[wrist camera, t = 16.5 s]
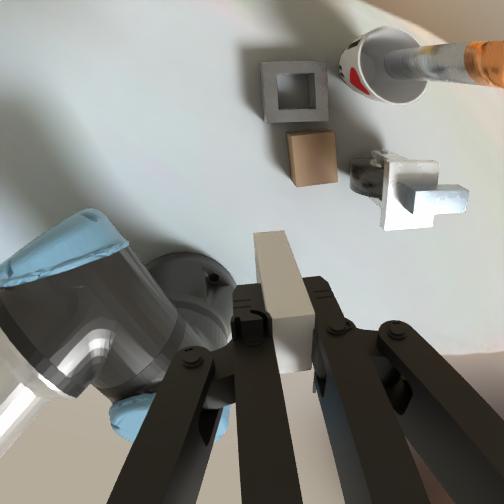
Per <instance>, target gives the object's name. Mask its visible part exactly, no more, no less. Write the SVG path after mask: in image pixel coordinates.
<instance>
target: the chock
mask: <svg viewBox="0 0 504 504" xmlns="http://www.w3.org/2000/svg"><path fill="white" fill-rule="evenodd" d="M286 137H287V145H288V154H289V163H290V172H291V180H292V182H293V183H294V184H295V186H296V187H303V186H310V185H318V184H326V183H335V182H338V175H337V158H336V144H335V132H333V131H331V130H328V129H315V130H305V131H295V132H286Z"/></svg>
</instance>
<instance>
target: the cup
mask: <svg viewBox="0 0 504 504" xmlns="http://www.w3.org/2000/svg"><path fill="white" fill-rule="evenodd" d="M415 47H422V46H421V44H420V43H419V42H418V40H417V39H416V38H415V37H413V36H412V35H411V34H410V33H408V32H406V31H405V30H403V29H400V28H397V27H392V26H383V27H379V28H376V29H374V30H372V31H370V32H368V33H366V34H364V35H362V36H360V37H358V38H357V39H355V40H354V41H353V42H352V43H351V44H350V45H349V46H348V47H347V48H346V49H345V50H344V51H343V53H342V55H341V57H340V61H339V73H340V76H341V78H342V79H343V80H344V82H345V83H346V84H347V85H348V86H349V87H350V88H351V89H352V90H354V91H356V92H358V93H360V94H362V95H364V96H366V97H368V98H370V99H373V100H377V101H381V102H385V103H389V104H393V105H407V104H410V103H413V102H415V101H416V100H418V99H419V98H420V97H421V96H422V95H423V93H424V92H425V90H426V88H427V86H428V83H429V81H417V80H395V79H393V78H391V77H390V76H389V75H388V74H387V72H386V71H385V68H384V58H385V56H386V54H387V53H389V52H391V51H395V50H401V49H408V48H415Z"/></svg>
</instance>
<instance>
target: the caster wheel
mask: <svg viewBox="0 0 504 504" xmlns="http://www.w3.org/2000/svg"><path fill="white" fill-rule="evenodd" d="M438 174H439V163H438V162H436V161H434V160H408V159H406V158H404V157H402V156H400V155H397V154H395V153H393V152H391V151H387V150H380V151H371V157H367V158H357V159H354V160H352V161H351V162H350V188H351V189H352V190H353V191H354V192H356V193H359V194H361V195H365V196H368V197H369V198H370V199H371V200H372V201H374V202H375V203H376V204H377V205H378V206H379V207H381V219H380V226H381V227H382V228H383V229H384V230H395V229H407V228H419V227H431V226H432V222H433V215H434V214H445V213H463V212H466V208H467V201H468V195H469V190H467V189H465V188H463V187H462V186H460V185H437V183H438Z"/></svg>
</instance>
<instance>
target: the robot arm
mask: <svg viewBox="0 0 504 504" xmlns="http://www.w3.org/2000/svg"><path fill="white" fill-rule="evenodd" d="M253 234H254V248H255V261H256V274H257V283H255V284H245V285H236V283H235V281H234V279H233V277H232V276H231V275H230V273H229V272H228V271H227V270H226V269H225V268H224V267H223V266H222V265H220V264H219V263H218V262H216V261H214V260H212V259H210V258H208V257H206V256H203V255H200V254H195V253H188V252H178V253H171V254H167V255H164V256H161V257H159V258H157V259H155V260H154V261H152V262H151V263H150V264H149V265H148V266H147V267H145V266H144V265H143V264H142V262H141V261H140V260H139V258H138V257H137V256H136V254H135V253H134V251H133V250H132V249H131V247H130V246H129V241H128V240H127V239H126V238H123V237H122V236H121V234H120V233H119V232H118V231H117V229H116V228H115V227H114V225H113V224H112V223H111V222H110V220H109V219H108V218H107V216H106V215H105V214H104V213H102V212H101V211H99V210H97V209H93V208H87V209H83V210H80V211H78V212H77V213H75V214H73V215H71V216H70V217H68V218H66V219H65V220H63V221H62V222H60V223H58V224H57V225H55V226H54V227H52V228H51V229H49V230H48V231H46V232H45V233H43V234H42V235H40V236H39V237H37V238H36V239H34V240H33V241H31V242H30V243H28V244H27V245H26V246H24V247H23V248H21V249H20V250H19V251H17V252H16V253H15V254H14V255H12V256H11V257H10V258H8V259H7V260H6V261H4V262H3V263H2V264H0V458H1V457H2V456H3V455H4V453H5V452H6V451H7V450H8V449H9V448H10V446H11V445H12V444H13V443H14V442H15V441H16V439H17V438H18V437H19V436H20V435H21V434H22V432H23V431H24V430H25V429H26V428H27V426H29V425H30V423H31V422H32V421H33V420H34V419H35V418H36V417H37V415H38V414H39V413H40V412H41V411H42V410H43V408H44V407H45V406H46V405H47V404H48V403H49V402H50V401H51V400H53V399H66V400H75V399H76V398H77V397H78V396H79V395H80V394H81V393H82V392H83V391H84V390H85V388H86V387H87V386H88V385H90V384H92V385H93V386H94V387H96V388H97V389H98V390H99V391H100V392H101V393H103V394H104V395H105V396H106V397H107V398H108V399H109V400H110V401H111V402H112V404H113V405H112V406H111V407H110V410H109V415H110V421H111V426H112V428H113V429H114V431H115V432H116V433H117V434H119V435H120V436H121V437H123V438H124V439H126V440H128V441H130V442H132V443H133V445H132V447H131V449H130V452H129V454H128V456H127V458H126V460H125V463H124V465H123V467H122V469H121V472H120V474H119V476H118V478H117V481H116V483H115V485H114V488H113V490H112V492H111V495H110V497H109V499H108V501H107V504H196V501H197V497H198V494H199V491H200V487H201V484H202V480H203V477H204V473H205V470H206V467H207V463H208V460H209V457H210V453H211V450H212V446H213V443H214V442H215V441H217V440H218V439H220V438H221V436H222V435H223V434H224V432H225V431H226V430H227V427H228V422H229V412H230V407H231V404H233V403H235V402H236V416H237V434H238V452H239V467H240V482H241V497H242V504H303V501H302V496H301V490H300V484H299V479H298V473H297V468H296V462H295V456H294V451H293V445H292V440H291V434H290V429H289V423H288V418H287V413H286V407H285V401H284V395H283V390H282V384H281V379H280V374H283V373H291V372H298V371H306V370H311V368H312V363H313V366H314V370H315V372H314V382H313V393H316V390H317V393H318V397H319V401H320V405H321V408H322V412H323V416H324V420H325V423H326V428H327V431H328V435H329V439H330V443H331V447H332V451H333V455H334V459H335V463H336V467H337V471H338V475H339V479H340V483H341V488H342V491H343V496H344V500H345V504H431V503H430V501H429V499H428V496H427V494H426V491H425V488H424V485H423V482H422V480H421V477H420V475H419V472H418V469H417V467H416V464H415V462H414V459H413V457H412V454H411V451H410V449H409V446H408V444H407V441H406V439H405V437H406V438H407V439H408V441H409V442H410V443H411V445H412V446H413V447H414V449H415V450H416V451H417V453H418V454H419V455H420V457H421V458H422V459H423V461H424V462H425V463H426V465H427V466H428V467H429V469H430V470H431V472H432V473H433V474H434V475H435V477H436V478H437V480H438V481H439V482H440V483H441V485H442V486H443V488H444V489H445V490H446V492H447V493H448V494H449V496H450V497H451V498H452V500H453V501H454V503H455V504H504V420H503V419H502V418H501V417H500V416H499V415H498V414H497V413H496V412H495V411H494V410H493V409H492V408H491V406H490V405H489V404H488V403H487V402H486V401H485V400H484V399H483V398H482V397H481V396H480V395H479V394H478V393H477V392H476V391H475V390H474V389H473V388H472V386H470V384H469V383H468V382H467V381H466V380H465V379H464V378H463V377H462V376H461V375H460V374H459V373H458V372H457V371H456V370H455V369H454V368H453V367H452V366H451V365H450V364H449V363H448V362H447V361H446V360H445V359H444V358H443V357H442V356H441V355H440V354H439V353H438V352H437V351H436V350H435V349H434V348H433V347H432V346H431V345H430V344H429V343H428V342H427V341H426V340H425V339H424V338H423V337H421V336H420V335H419V334H418V333H417V332H416V331H415V330H414V329H413V328H412V327H411V326H410V325H408V324H407V323H405V322H402V321H396V320H391V321H387V322H385V323H383V324H382V325H381V326H380V328H379V331H373V330H363V329H359V328H356V326H355V325H354V323H353V322H352V321H350V320H349V319H347V318H345V317H344V315H343V313H342V311H341V309H340V307H339V305H338V302H337V300H336V298H335V297H334V294H333V292H332V291H331V288H330V286H329V283H328V282H327V281H326V280H325V279H323V278H322V277H321V276H315V277H305V278H302V277H301V274H300V271H299V269H298V266H297V263H296V261H295V258H294V255H293V253H292V250H291V248H290V245H289V242H288V240H287V237H286V235H285V232H284V230H283V231H271V232H260V233H253ZM230 332H232V340H231V341H230V342H229V343H228V344H227V339H228V337H229V334H230ZM404 435H405V436H404Z"/></svg>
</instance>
